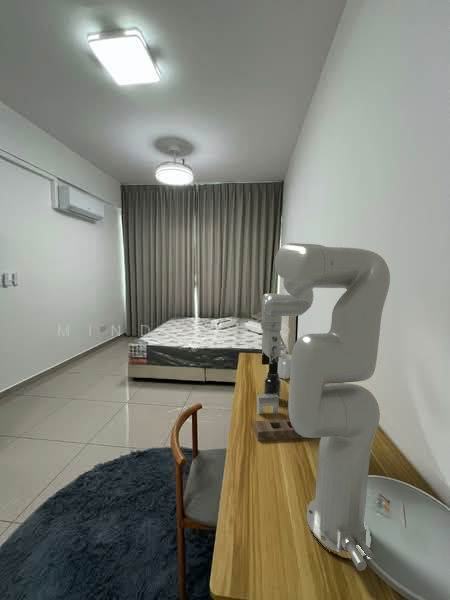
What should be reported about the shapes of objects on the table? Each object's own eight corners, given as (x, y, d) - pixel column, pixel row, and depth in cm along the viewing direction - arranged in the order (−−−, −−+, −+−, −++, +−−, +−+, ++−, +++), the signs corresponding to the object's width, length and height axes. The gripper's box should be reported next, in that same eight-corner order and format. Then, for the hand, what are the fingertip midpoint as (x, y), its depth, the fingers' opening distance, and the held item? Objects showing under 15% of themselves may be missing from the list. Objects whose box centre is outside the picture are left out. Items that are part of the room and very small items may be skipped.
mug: (275, 372, 139) (276, 353, 138) (292, 374, 137) (293, 355, 136) (274, 381, 127) (275, 360, 126) (292, 383, 125) (293, 362, 124)
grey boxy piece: (275, 410, 99) (276, 393, 98) (278, 414, 96) (279, 397, 95) (256, 411, 98) (257, 394, 97) (258, 415, 95) (259, 397, 94)
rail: (307, 426, 89) (308, 418, 88) (315, 437, 83) (316, 428, 82) (253, 429, 86) (253, 421, 86) (257, 440, 80) (258, 431, 80)
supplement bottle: (279, 404, 103) (281, 377, 102) (263, 402, 105) (264, 375, 104) (279, 397, 110) (280, 371, 109) (264, 395, 111) (265, 369, 110)
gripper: (289, 330, 86) (286, 377, 87) (273, 321, 103) (271, 361, 104) (268, 330, 85) (266, 378, 86) (256, 321, 102) (254, 361, 104)
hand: (269, 368), depth 95 cm, fingers open, 9 cm apart
